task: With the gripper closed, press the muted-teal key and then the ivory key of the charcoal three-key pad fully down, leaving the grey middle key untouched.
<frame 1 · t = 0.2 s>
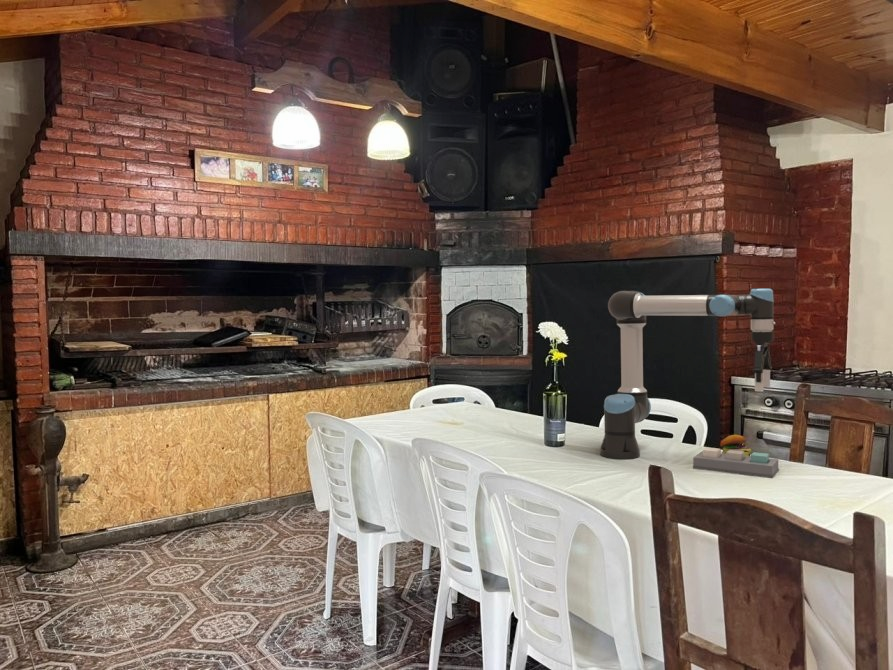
hand: (762, 389, 241), 27 cm above the table, fingers open, 13 cm apart
keypad base: (735, 469, 234), on the table
key teal: (759, 459, 230), point 5 cm above the table, slide at 0.0 cm
key grey: (735, 456, 234), point 5 cm above the table, slide at 0.0 cm
key ivory: (711, 454, 239), point 5 cm above the table, slide at 0.0 cm
cheeseburger: (735, 458, 252), on the table
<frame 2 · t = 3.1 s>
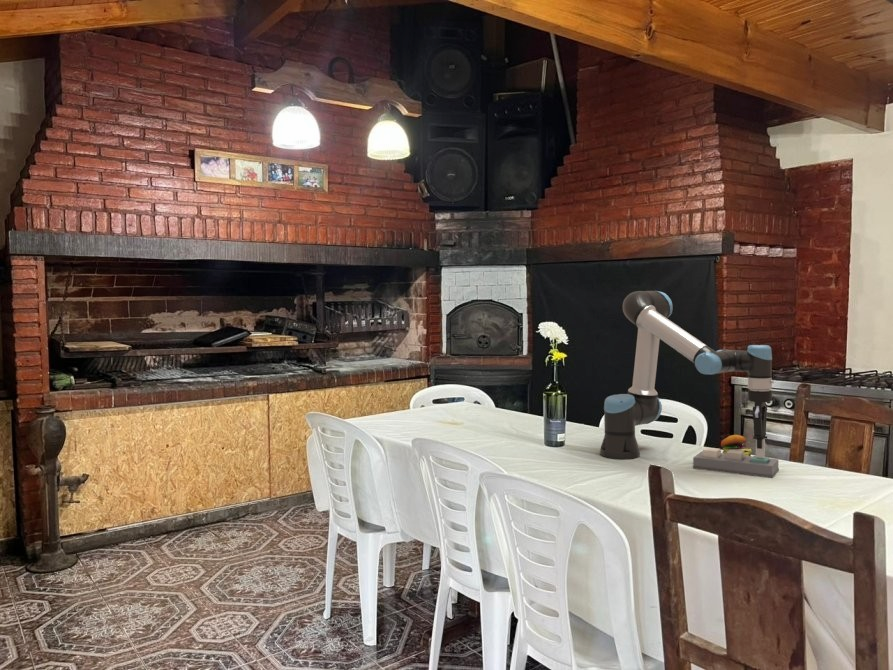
hand: (760, 457, 229), 5 cm above the table, fingers closed
key teal: (759, 462, 230), point 3 cm above the table, slide at 1.3 cm, touching gripper
everything else where it was.
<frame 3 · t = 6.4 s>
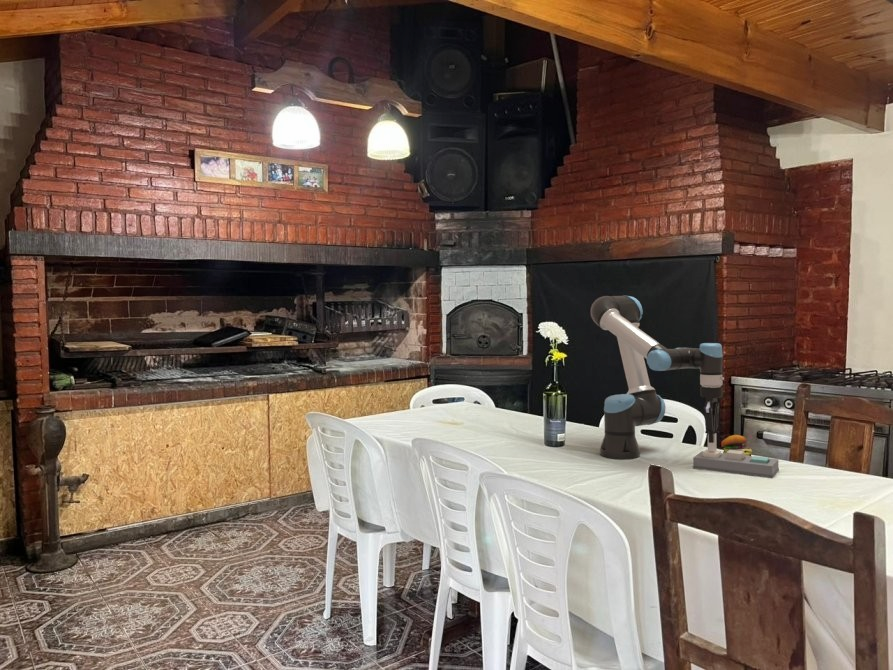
hand: (712, 451, 239), 6 cm above the table, fingers closed
key teal: (759, 463, 230), point 3 cm above the table, slide at 1.4 cm
key ivory: (711, 456, 239), point 4 cm above the table, slide at 0.8 cm, touching gripper
everything else where it was.
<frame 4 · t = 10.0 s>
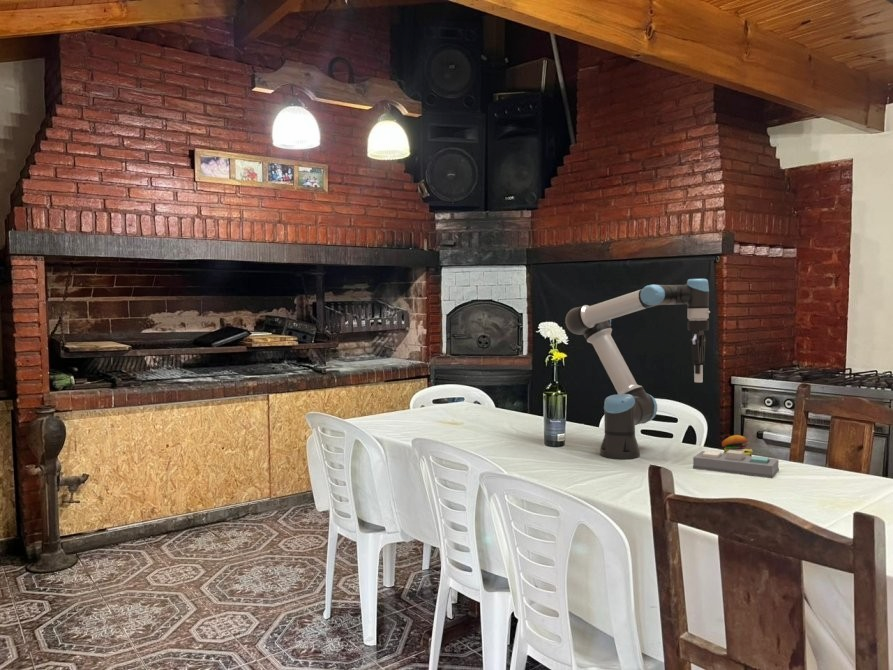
hand: (698, 382, 250), 29 cm above the table, fingers closed
key ivory: (711, 457, 239), point 3 cm above the table, slide at 1.4 cm
everything else where it was.
at the end: key teal slide at 1.4 cm; key ivory slide at 1.4 cm; key grey slide at 0.0 cm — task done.
